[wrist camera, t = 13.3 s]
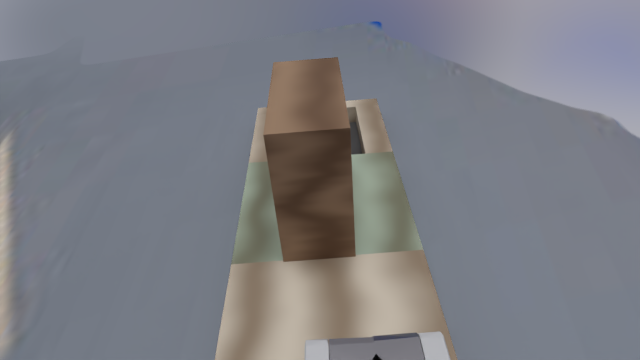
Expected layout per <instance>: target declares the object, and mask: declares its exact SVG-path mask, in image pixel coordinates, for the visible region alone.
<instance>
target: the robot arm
mask: <svg viewBox="0 0 640 360" xmlns="http://www.w3.org/2000/svg"><path fill="white" fill-rule="evenodd" d="M305 360H451V359H450V356H449V352H448V349H447V346H446V342H445V339H444V336H443V334H442V333H441V332H440V331H437V332H426V333H403V334H391V335H379V336H373V337H358V338H336V339H329V341H328V339H315V340H306V341H305Z"/></svg>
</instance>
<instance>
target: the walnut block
mask: <svg viewBox="0 0 640 360" xmlns="http://www.w3.org/2000/svg"><path fill="white" fill-rule="evenodd" d="M263 136H264V142H265V149H266V155H267V161H268V168H269V174H270V180H271V187H272V193H273V199H274V205H275V212H276V218H277V224H278V231H279V237H280V243H281V250H282V256H283V262H289V261H303V260H316V259H329V258H343V257H356V252H355V228H354V204H353V181H352V157H351V133H350V124H349V118H348V112H347V107H346V101H345V95H344V90H343V84H342V78H341V73H340V67H339V61H338V57H335V58H323V59H311V60H299V61H286V62H274V63H273V70H272V77H271V84H270V91H269V98H268V105H267V112H266V119H265V126H264V133H263Z"/></svg>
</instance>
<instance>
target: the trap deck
mask: <svg viewBox="0 0 640 360" xmlns="http://www.w3.org/2000/svg"><path fill="white" fill-rule="evenodd" d="M346 107H347V112H348V118H349V124H350V133H351V157H352V181H353V204H354V228H355V252H356V257H343V258H329V259H316V260H303V261H289V262H283V256H282V250H281V243H280V237H279V231H278V224H277V218H276V212H275V205H274V199H273V193H272V187H271V180H270V174H269V168H268V161H267V155H266V149H265V142H264V136H263V133H264V126H265V119H266V112H267V108H258V113H257V118H256V124H255V130H254V136H253V141H252V147H251V153H250V159H249V165H248V170H247V176H246V182H245V188H244V194H243V199H242V205H241V211H240V217H239V222H238V228H237V234H236V240H235V246H234V251H233V257H232V263H231V269H230V275H229V280H228V286H227V292H226V298H225V304H224V309H223V315H222V321H221V327H220V332H219V338H218V344H217V350H216V356H215V360H305V341H306V340H315V339H328V341H329V339H336V338H358V337H373V336H379V335H391V334H403V333H426V332H437V331H440V332H441V333H442V334H443V336H444V339H445V342H446V346H447V349H448V352H449V356H450V359H451V360H457V357H456V354H455V350H454V347H453V344H452V341H451V337H450V334H449V331H448V328H447V325H446V321H445V318H444V315H443V312H442V309H441V305H440V302H439V299H438V296H437V292H436V289H435V286H434V283H433V280H432V276H431V273H430V270H429V267H428V264H427V260H426V257H425V254H424V251H423V247H422V244H421V241H420V238H419V235H418V231H417V228H416V225H415V222H414V219H413V215H412V212H411V209H410V206H409V202H408V199H407V196H406V193H405V190H404V186H403V183H402V180H401V177H400V173H399V170H398V167H397V164H396V161H395V157H394V154H393V151H392V148H391V145H390V141H389V138H388V135H387V132H386V128H385V125H384V122H383V119H382V116H381V112H380V109H379V106H378V103H377V100H376V99H365V100H353V101H346Z"/></svg>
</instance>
